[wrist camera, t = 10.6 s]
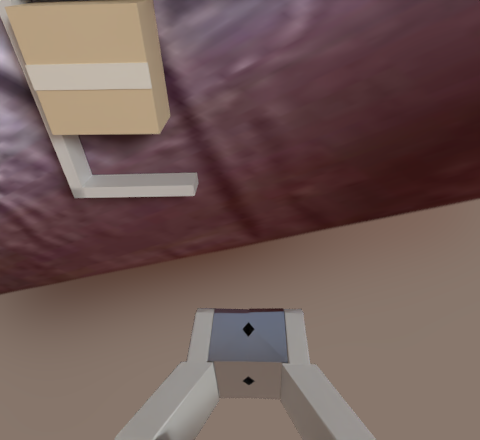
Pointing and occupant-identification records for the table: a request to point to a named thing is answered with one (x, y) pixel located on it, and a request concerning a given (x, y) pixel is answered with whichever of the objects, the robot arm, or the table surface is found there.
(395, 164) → the table surface
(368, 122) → the table surface
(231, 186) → the table surface
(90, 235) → the table surface
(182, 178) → the light gray u-shaped bracket
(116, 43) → the carton
